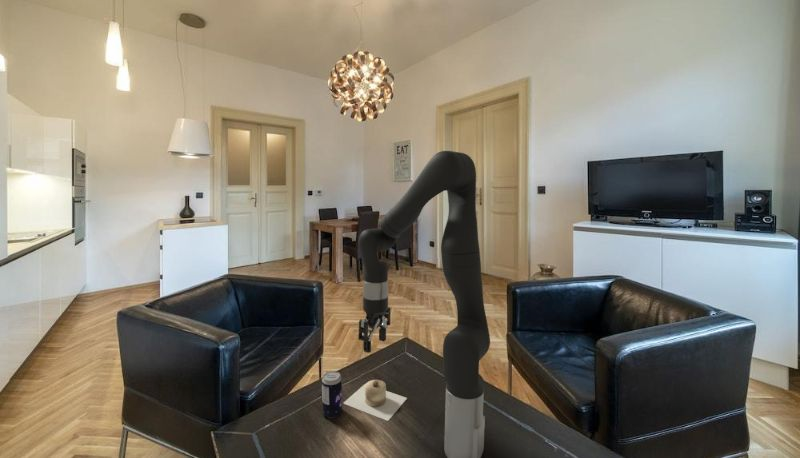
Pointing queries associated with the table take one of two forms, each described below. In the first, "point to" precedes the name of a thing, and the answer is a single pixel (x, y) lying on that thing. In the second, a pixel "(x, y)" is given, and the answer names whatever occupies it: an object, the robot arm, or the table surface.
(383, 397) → the lid
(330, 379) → the beverage can
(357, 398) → the mat
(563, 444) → the table surface
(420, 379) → the table surface
